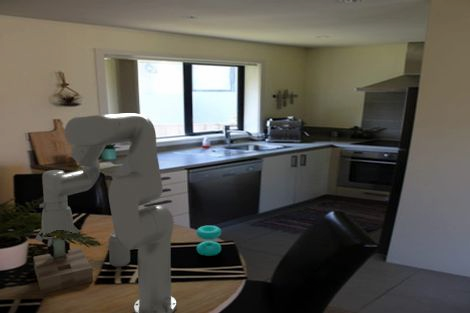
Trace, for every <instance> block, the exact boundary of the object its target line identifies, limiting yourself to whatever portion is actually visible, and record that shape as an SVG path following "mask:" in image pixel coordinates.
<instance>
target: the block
mask: <svg viewBox="0 0 470 313" xmlns="http://www.w3.org/2000/svg"><path fill="white" fill-rule="evenodd" d="M32 258H33V267H34V268H33V269H35V270H34V274H35V276H37V277H36V279H37V284H38V286H39V290H40V293H41V295H43V294H46V293H50V292H55V291H59V290H62V289H66V288H67V289H68V288H71V287H76V286H79V285H84V284H87V283H88V284H89V283H91V282H94V276H93V275H94V274H93V272H94V271H93V266H92V265H91V262H90V261H89V260H88V257H87V256H86V255H85V253H84V252H83V250H82V249H81V247H77V248H70V250H68V254H66V257H65V258H63V259H58V260H55V259H53V257H51V255H50V254H48V253H46V254H42V255H37V256H36V255H35V256H33V257H32Z"/></svg>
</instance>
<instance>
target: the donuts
mask: <svg viewBox="0 0 470 313" xmlns="http://www.w3.org/2000/svg"><path fill="white" fill-rule="evenodd" d="M221 234H222V229H221V228H220V227H218V226H216V225H203V226H200V227H198V228H197V229H196V235H197V237H199V238H200V239H202V240H205V241H202V242H200V243H198V244H197V246H196V251H197V253H198V254H199V255H202V256H204V255H205V257H212V256H216V255H218V254H220V252H221V251H222V246H221V245H220V243H219V242H217V241H214V240H216V239H218V238H220V237H221ZM212 240H213V241H212Z"/></svg>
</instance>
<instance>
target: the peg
mask: <svg viewBox="0 0 470 313" xmlns="http://www.w3.org/2000/svg"><path fill="white" fill-rule="evenodd" d="M52 246H53V259H55V260H58V259H63V258H65V257H66V246H65V241H63V240H61V239H52Z"/></svg>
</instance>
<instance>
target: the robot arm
mask: <svg viewBox="0 0 470 313" xmlns="http://www.w3.org/2000/svg"><path fill="white" fill-rule="evenodd" d="M155 129H156V128H155V125H154V124H153V122H152V121H151V120H150V119H149V118H148V117H147V116H145V115H143V114H139V113H133V112H132V113H131V112H124V113H123V112H122V113H109V114H97V115H87V116H86V115H85V116H75V117H73V118H71V119H70V120H68V122H67V124H66V125H65V127H64V137H65V139H66V142H68V143H69V145H71V146H72V147H71V151H70V155H71V157H72V159H73V160H74V161H75V162H76V163H77V164H80V165H82V168H81V169H80V170H74V171H70V172H65V171H64V170H61V169H52V170H51V169H50V170H47V171H44V172H43V174H42V176H41V177H42V178H41V179H42V190H43V202H42V203H39V208H40V209H41V208H42V212H41V213H42V214H41V229H40V231H39V232H38V234H37V235H36V237H35V240H36V241H39V242H41V243H43V244H44V245H45V246H46V247H47V254H50V255H51V257H53V246H52V239H54V238H53V237H44V236H43V235H46V233H47V234H48V233H51V232H53V231H56V230H64V231H65V230H66V231H69V232H72V233H77V235H79V233H80V230H79V229H78V228H77V227H76V226H75V225H74V220H73V213H72V209H71V206H69V205H68V196H71V195H74V194H75V195H76V194H78V193H83V192H87V191H89V190H90V189H91V188H92V187H93V186H94V185H95V184H96V182H97V180H98V179H99V177H100V174H101V164H100V160H99V158H100V156H101V155H102V154H103V151H104V149H105V148H106V147H107V146H109V145H116V144H124V143H131V144H130V145H129V148H128V151H127V156H126V157H127V158H126V159H127V166H128V173H124V174H120V175H117V176H116V177H115V178H114V179H113V180H111V182H110V184H109V188H108V201H109V208H110V212H111V219H112V224H113V225H112V226H113V230H114V231H113V232H115V235H116V238H117V240H118V242H119V244H120V245H121V246H122V247H124V248H126V249H130V250H134V249H137V274H138V275H137V276H138V278H137V279H138V283H137V284H138V299H137V301H135V303H134V305H133V313H174V311H176V309H177V300H176V298H174V296H172V275H171V274H172V270H171V269H172V267H171V265H172V263H171V259H172V258H171V257H172V256H171V255H172V254H171V253H172V252H171V246H172V245H171V244H172V236H173V232H174V231H173V230H174V217H173V214H172V212H171V211H170V209H169V208H168V207H166V206H164V205H160V204H157V205H156V204H155V205H150V206H147V207H144V208H141V209H140V208H139V206H142V205H146V204H149V203H152V202H154V201H156V200H158V199H159V198H160V197H161V196H162V195H163V189H164V188H163V181H162V175H161V169H160V163H159V158H158V153H157V135H156V134H157V133H156V130H155ZM41 233H43V235H42V237H41V236H40V235H39V234H41ZM70 243H71V242H70V241H65V246H66V254H68V250H71V246H70V245H71V244H70Z"/></svg>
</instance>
